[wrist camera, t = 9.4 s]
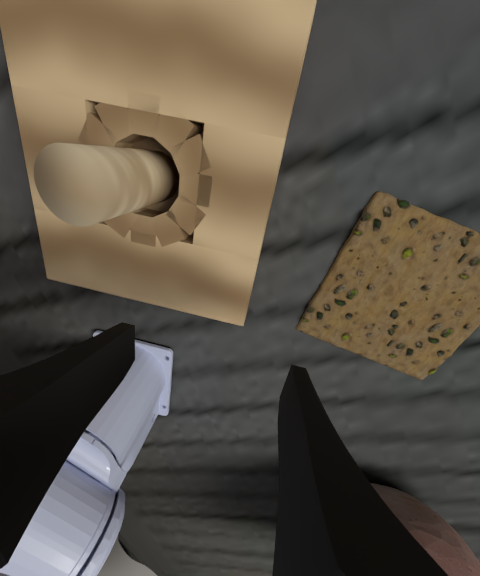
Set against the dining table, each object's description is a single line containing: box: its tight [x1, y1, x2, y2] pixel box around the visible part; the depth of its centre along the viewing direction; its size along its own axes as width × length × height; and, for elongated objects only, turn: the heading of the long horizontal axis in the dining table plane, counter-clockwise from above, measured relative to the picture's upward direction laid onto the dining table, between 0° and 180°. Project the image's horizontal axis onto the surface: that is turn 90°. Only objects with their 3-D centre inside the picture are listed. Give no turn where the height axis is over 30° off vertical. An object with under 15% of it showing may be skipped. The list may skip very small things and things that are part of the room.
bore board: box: [0, 0, 317, 326], centre depth 17 cm, size 18×16×2 cm
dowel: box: [34, 143, 180, 227], centre depth 14 cm, size 3×3×8 cm
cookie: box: [296, 192, 480, 380], centre depth 19 cm, size 12×12×1 cm
